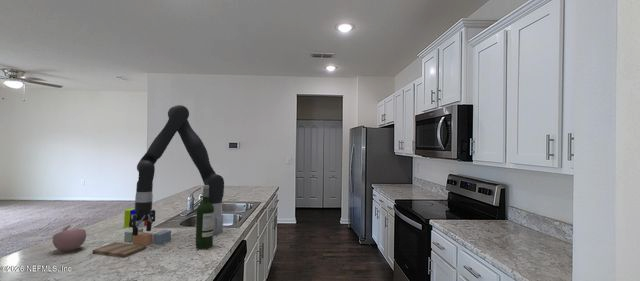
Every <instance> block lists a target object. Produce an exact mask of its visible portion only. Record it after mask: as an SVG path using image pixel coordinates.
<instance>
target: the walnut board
mask: <svg viewBox="0 0 640 281" xmlns="http://www.w3.org/2000/svg"><path fill="white" fill-rule="evenodd" d="M146 247H147V246H145V245H136V244H133V243H128V242H113V243H109V244H106V245H104V246H100V247H98V248H95V249H92V254H94V255H100V256H101V255H102V256H110V257H117V258H124V259H125V258H127V257H129V256H132V255H134V254H137V253H139V252H141V251H144V250H146Z"/></svg>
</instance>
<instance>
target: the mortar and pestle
mask: <svg viewBox="0 0 640 281" xmlns="http://www.w3.org/2000/svg"><path fill="white" fill-rule="evenodd" d="M70 227H71V224H68V225H67V226H64V227H63V229H62V231H60V232H57V233H55V234H54V235H53V236H52V244H53V246H54V248H56V250H58V251H61V252H72V251H75V250H77V249H78V248H80V247H81V246H82V245H83V244H84V243H85V241H86V238H87V231H86V229H84V228H74V229H69V228H70Z"/></svg>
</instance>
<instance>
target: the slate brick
mask: <svg viewBox="0 0 640 281" xmlns="http://www.w3.org/2000/svg"><path fill="white" fill-rule="evenodd" d="M171 240H172V230H167V229H162V230H161V231H159V232H155V233H153V242H152V245H159V246H160V245H163V244H165V243H167V242H170V241H171Z"/></svg>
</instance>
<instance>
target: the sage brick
mask: <svg viewBox="0 0 640 281" xmlns="http://www.w3.org/2000/svg"><path fill="white" fill-rule="evenodd" d="M138 232H144V227H142V228H138ZM132 233H133V228H132V229H129V230H126V231H124V236H123V237H124V238H123V239H124V242H123V243H133V234H132Z"/></svg>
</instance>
